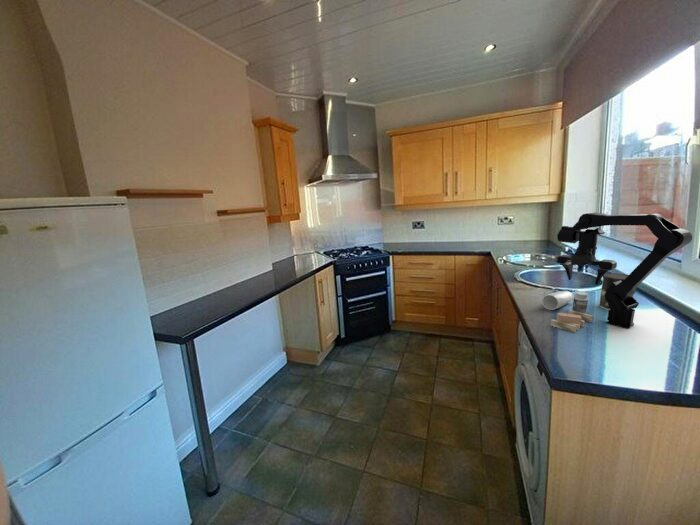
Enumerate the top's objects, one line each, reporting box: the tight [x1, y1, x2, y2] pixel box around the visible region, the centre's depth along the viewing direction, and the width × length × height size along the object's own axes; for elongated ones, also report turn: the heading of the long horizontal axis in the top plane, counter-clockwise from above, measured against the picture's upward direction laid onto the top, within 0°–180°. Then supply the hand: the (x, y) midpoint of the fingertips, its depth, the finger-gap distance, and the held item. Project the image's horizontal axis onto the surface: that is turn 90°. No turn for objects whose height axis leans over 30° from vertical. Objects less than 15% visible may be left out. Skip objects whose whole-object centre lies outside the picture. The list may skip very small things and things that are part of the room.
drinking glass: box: [541, 290, 574, 311], centre depth 134 cm, size 7×7×15 cm
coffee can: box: [598, 272, 629, 311], centre depth 129 cm, size 10×10×14 cm
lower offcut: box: [556, 319, 581, 332], centre depth 114 cm, size 7×3×2 cm, turn 40°
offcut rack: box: [550, 309, 594, 334], centre depth 117 cm, size 8×16×2 cm, turn 124°
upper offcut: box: [556, 312, 582, 324], centre depth 114 cm, size 7×3×2 cm, turn 62°
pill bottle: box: [571, 291, 589, 314], centre depth 126 cm, size 5×5×8 cm
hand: (582, 282), depth 125 cm, fingers open, 9 cm apart
